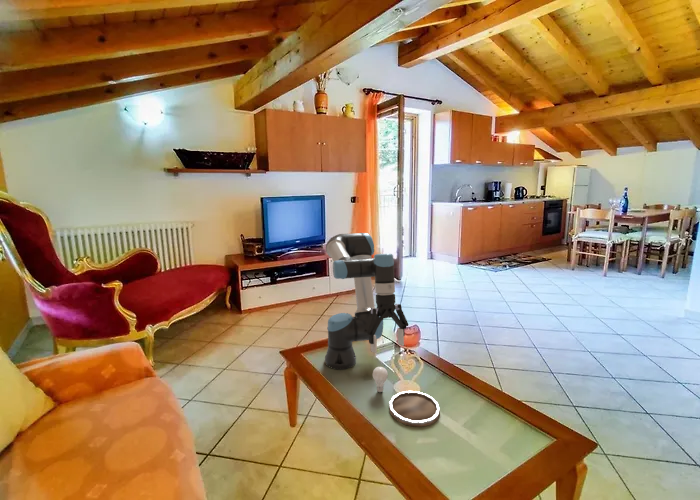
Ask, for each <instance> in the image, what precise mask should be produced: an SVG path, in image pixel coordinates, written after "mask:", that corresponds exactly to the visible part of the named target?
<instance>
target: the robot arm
mask: <svg viewBox="0 0 700 500" xmlns="http://www.w3.org/2000/svg"><path fill="white" fill-rule="evenodd" d="M325 252H326V254H327V256H328V257H329V258H330V259H331V260H332V274H333V277H334V279H336V280H337V279H338V280H345V279H354V280H353V281H354V291H355V300H356V310H355V312H354V316H353V315H352V314H351V313H348V312H346V313H345V312H339V313H336V314H333V315H331V316H330V317H329V319H328V320H327V351H326V354H325V357H324V363H325V362H326V364H327V365H328V366H330V367H332V368H331V369H333V368H335V369H334V370H346V369H350V368H352V367H353V366H355V365H356V363H357V355H356V353H355V350H354V348H353V342H363V341H368V343H369V344H370V352H372V353H374V354H377V353H378V351H377V350H378V349H377V340H379V339H380V338H381V337H382V336H383V331H384V319H389V318H391V319H392V320H393V321H394V322H395V324H396V326H398V327H397V345H399V346H402V347H403V346H405V335H406V333H405V332H406V331H405V330H406V329H407V327H409V322H408V320H407V318H406V316H405V314H404V311H403V309H402V304H401V303H396V294H395V292H396V290H395V289H396V288H395V286H396V285H395V265H394V264H395V261H394V255H393V254H392V253H376V254H375V244H374V240H373V237H372V236H371V235H370V234H369V233H368V232H359V233H358V232H357V233H355V232H354V233H339V234H337V235H333V236H332V237H331V238H330V239H329V240H328V241H327V243H326V245H325ZM373 255H374V256H373ZM372 256H373V257H372ZM372 277H373V278H374V288H375V289H374V291H373V283H372ZM373 292H374V293H375V300H374V293H373ZM375 304H376V307H375ZM326 364H325V365H326ZM327 365H326V366H327ZM328 366H327V367H328ZM330 367H329V368H330Z"/></svg>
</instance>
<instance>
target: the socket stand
mask: <svg viewBox="0 0 700 500" xmlns="http://www.w3.org/2000/svg"><path fill="white" fill-rule="evenodd" d="M390 399H391V400H390V401H389V405H388V409H389V413H390V415H391V417H392V418H393V419H395V421H397V422H398V423H400V424H402V425H405V426H409V427H413V428H422V427H423V428H424V427H428V426H429V427H430V426H431V425H434V424H435V423H436V422H437V421H438V420H439V418H440V415H441V414H440V413H441V410H440V406H439V402H438V401H436V400H435V398H433V396H430V395H429V394H427V393H423V392H420V391H417V390H415V391H414V390H406V391H401V392H398V393H396V394H395V395H393V396H392V397H391V398H390Z"/></svg>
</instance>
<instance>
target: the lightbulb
mask: <svg viewBox="0 0 700 500" xmlns="http://www.w3.org/2000/svg"><path fill="white" fill-rule="evenodd" d="M388 373H389V372H388V370H387V369H386V368H385V367H383V366H377V367H375V368H374V369H373V371H372V378H373V380H374V382H375V384H376V392H379V393H383V391H384V385H385V383H386V381H387V380H388V377H389V374H388Z"/></svg>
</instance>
